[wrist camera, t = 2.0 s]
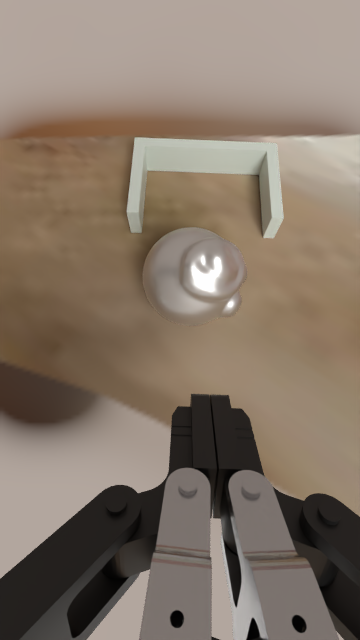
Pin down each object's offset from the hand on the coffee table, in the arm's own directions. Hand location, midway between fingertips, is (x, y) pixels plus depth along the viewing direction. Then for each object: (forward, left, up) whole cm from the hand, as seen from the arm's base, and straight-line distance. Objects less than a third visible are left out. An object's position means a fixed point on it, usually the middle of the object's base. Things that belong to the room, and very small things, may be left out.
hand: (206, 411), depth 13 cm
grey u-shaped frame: (+1, +25, -17) cm, 31 cm away
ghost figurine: (0, +12, -17) cm, 21 cm away
